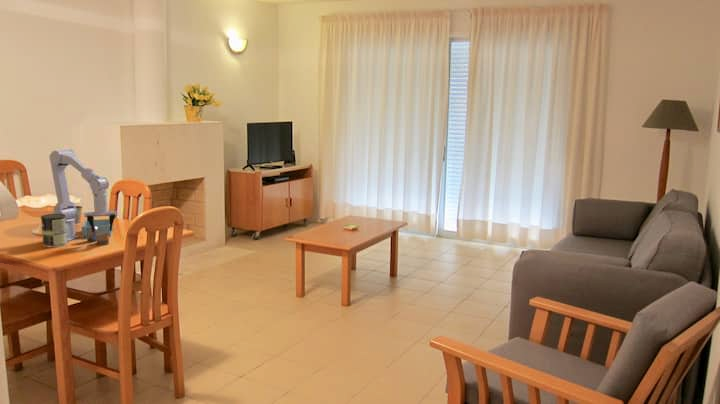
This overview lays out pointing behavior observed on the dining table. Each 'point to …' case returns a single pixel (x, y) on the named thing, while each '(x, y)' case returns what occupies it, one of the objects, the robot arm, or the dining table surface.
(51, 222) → the coffee can
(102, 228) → the tote
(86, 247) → the dining table surface
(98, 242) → the walnut cube
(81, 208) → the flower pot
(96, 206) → the robot arm
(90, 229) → the grey cylinder
